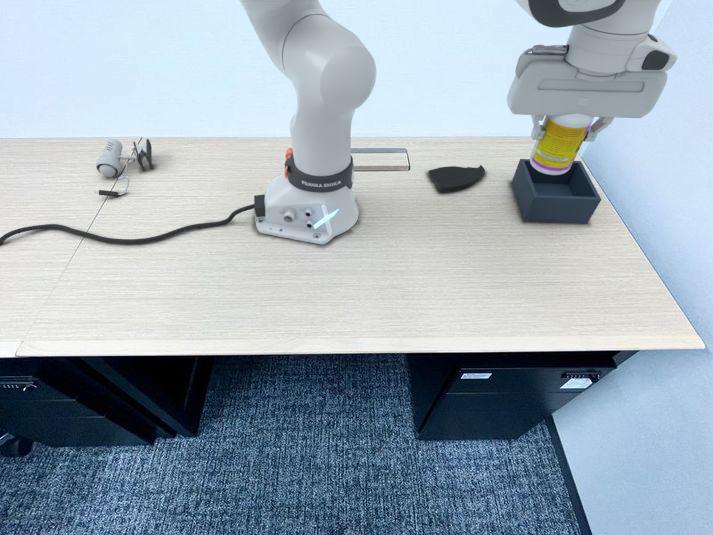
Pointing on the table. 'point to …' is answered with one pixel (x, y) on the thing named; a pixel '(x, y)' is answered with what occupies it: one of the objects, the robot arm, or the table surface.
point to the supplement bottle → (560, 141)
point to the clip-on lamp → (111, 164)
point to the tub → (555, 194)
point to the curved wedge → (455, 177)
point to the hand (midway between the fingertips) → (561, 138)
